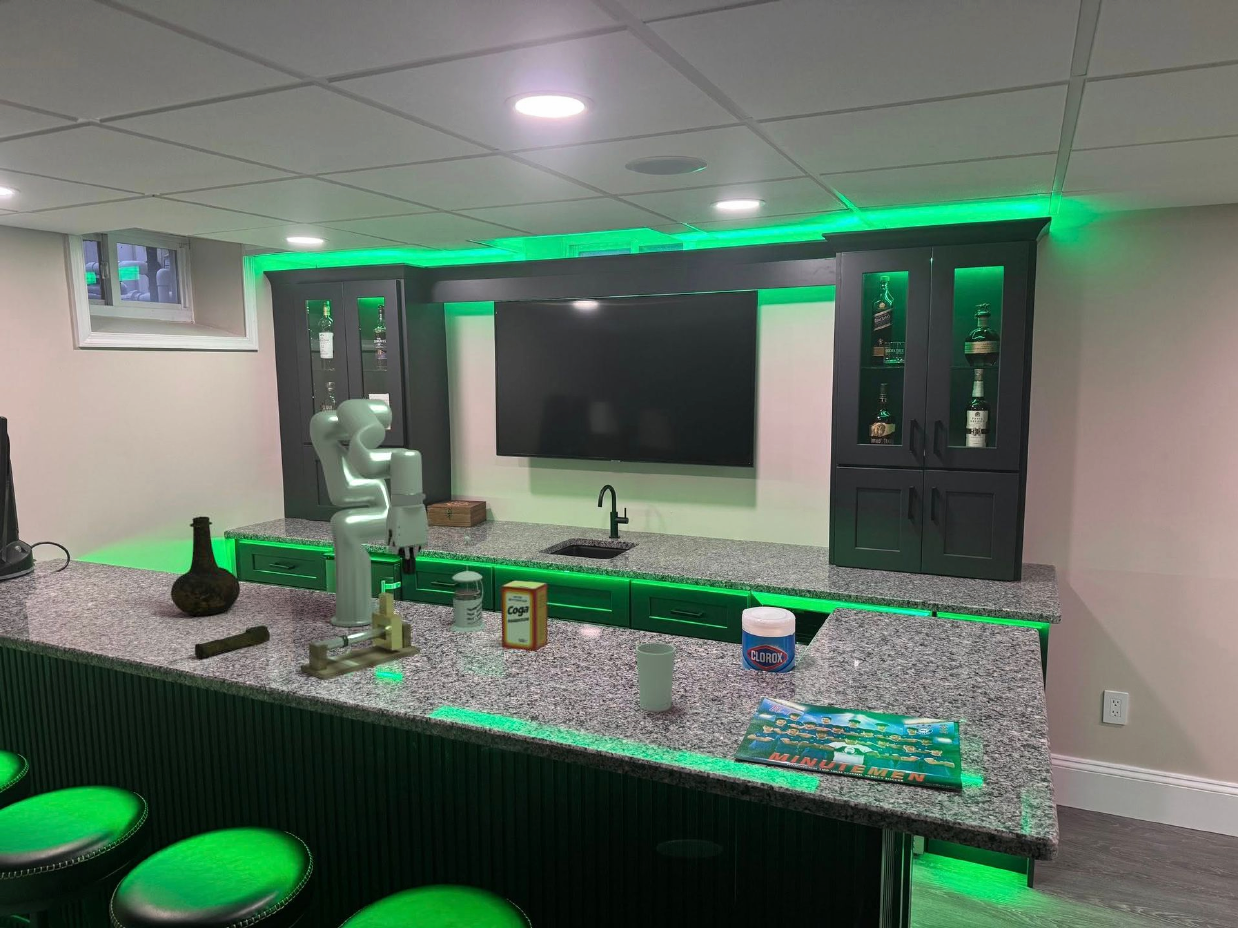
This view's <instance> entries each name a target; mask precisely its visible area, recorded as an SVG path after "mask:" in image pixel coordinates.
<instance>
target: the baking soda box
mask: <svg viewBox="0 0 1238 928" xmlns="http://www.w3.org/2000/svg"><path fill="white" fill-rule="evenodd" d="M500 587H501V588H500V589H501V647H502V648H507V649H515V650H516V649H517V650H524V651H532V652H537V651H539V650H540V649H541V648H543V647H545V646H546V645H548V583H546V582H545V583H544V582H538V581H536V582H535V581H524V580H523V581H522V580H512V581H510V582H507V583H504V584H503V585H501V586H500Z"/></svg>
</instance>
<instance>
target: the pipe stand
mask: <svg viewBox="0 0 1238 928" xmlns="http://www.w3.org/2000/svg"><path fill="white" fill-rule="evenodd" d="M405 623H406V624H403V625H402V648H399V649H395V650H389V649H386V648H383V647H380V646H377V645H374V646H369V647H367V648H362V649H359V650H355V651H351V652H347V653H344V654H339V655H335V656H332V657H327V651H326V645H325V644H322V645H315V644H314V643H316V642H317V641H313V642H310V643H309V642H308V658H309V659H308V663H304V664H301V665H300V671H301V672H303V673H305V674H308V675H310V676H314V677H316V678H318V679H320V680H323V681H325V680H328V679H333V678H336V677H340V676H343V675H347V674H351V673H354V672H357V671H360V670H361V671H362V670H365V669H369V668H372V667H375V666H379V665H382V664H386V663H389V662H393V661H397V660H400V659H404V658H408V657H410V656H414V655H418V654H421V648H420V647H418V646H414V645H412V631H411V630H412V627H411V623H407V622H405Z"/></svg>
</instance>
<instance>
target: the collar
mask: <svg viewBox="0 0 1238 928" xmlns="http://www.w3.org/2000/svg"><path fill="white" fill-rule="evenodd" d="M378 604H379V610H378V611H377V612H373V613H372V623H371V629H374V628H378V627H383V626H386V636H384V637H380V638H376V639H372V640H371V641H372V645H374V646H380V647H383V648H386V649H389V650H395V649H399V648H402V622H403V617H402V615H399V614H397V613H396V614H395V613H394V612H395V608H394V607H395V605H394V594H393V593H389V592H383V593H379V594H378Z"/></svg>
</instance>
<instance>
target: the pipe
mask: <svg viewBox="0 0 1238 928" xmlns="http://www.w3.org/2000/svg"><path fill="white" fill-rule="evenodd" d="M406 623H407V622H406V621H403V620H402V625H403V624H406ZM384 636H386V626H383V627H378V628H374V629H372V628H371V629H366V630H363V631H359V632H354V633H349V634H343V635H339V636H338V637H334V638H330V639H324V640H321V641H315V642H316V643H314V644H315V645H322V644H325V645H326V652H327V651H331V650H335V649H339V648H340V649H343V648H347V647H348V646H350V645H356V644H359V643H363V642H366V641H367V642H369V641H370V640H371V641H372V639H376V638H380V637H384Z"/></svg>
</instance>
